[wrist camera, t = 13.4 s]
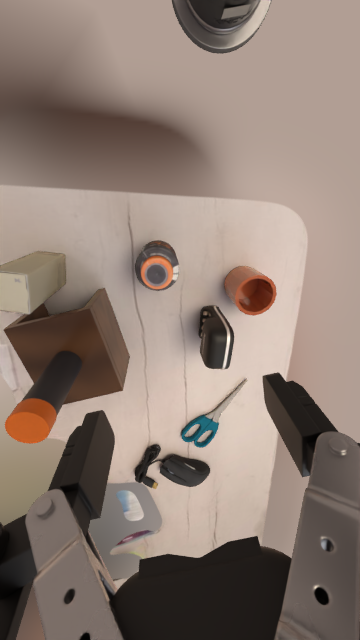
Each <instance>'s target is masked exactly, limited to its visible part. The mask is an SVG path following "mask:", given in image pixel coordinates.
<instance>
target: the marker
mask: <svg viewBox="0 0 360 640" xmlns="http://www.w3.org/2000/svg"><path fill="white" fill-rule="evenodd" d="M81 367H82V361H81V359H80V357H79V356H78V355H77V354H75V353H73V352H71V351H61V352H59V353H57V354H56V355H55V356H54V358H53V359H52V360H51V362H50V363H49V364H48V366H47V367H46V369H45V370H44V371H43V373H42V374H41V375H40V377H39V378H38V379H37V381H36V382H35V383H34V385H33V386H32V388H31V389H30V390H29V392H28V393H27V394H26V396H25V397H24V398H23V400H22V401H21V402H20V403H19V404H18V405H17V406H16V408H15V409H14V410H13V412H12V413H11V415H10V416H9V417H8V418H7V420H6V422H5V428H6V431H7V433H8V434H9V435H10V436H11V437H12V438H14V439H15V440H17V441H20V442H23V443H38V442H40V441H42V440H44V439H45V438H46V437H47V436H48V435H49V433H50V431H51V429H52V427H53V425H54V423H55V421H56V418H57V415H58V413H59V411H60V409H61V407H62V405H63V403H64V401H65V399H66V397H67V395H68V393H69V391H70V389H71V387H72V385H73V383H74V381H75V379H76V377H77V375H78V373H79V371H80V369H81Z"/></svg>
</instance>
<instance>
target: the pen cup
mask: <svg viewBox="0 0 360 640" xmlns="http://www.w3.org/2000/svg"><path fill="white" fill-rule="evenodd" d="M224 287H225V291H226V293H227V295H228V296H229V298H230V299H231V300H232V301H233V302H234V304H235V305H236V306H237V307H238V309H239V310H240V311H242V312H243V313H245V314H248V315H257V314H262V313H263V312H265V311H266V310H268V309H269V308H270V307H271V305H272V304H273V303H274V301H275V297H276V286H275V285H274V283H273V281H272V280H271V279H269V278H268V277H266V276H265V275H263V274H261V273H260V272H258V271H256V270H255V269H253V268H251V267H248V266H240V267H237V268H235V269H233V270H232V271H231V272H230V273H229V274H228V275H227V277H226V279H225V284H224Z"/></svg>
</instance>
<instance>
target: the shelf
mask: <svg viewBox="0 0 360 640" xmlns="http://www.w3.org/2000/svg"><path fill="white" fill-rule="evenodd" d="M4 332H5V333H6V335H7V337H8V339H9V340H10V342H11V344H12V345H13V347H14V349H15V351H16V352H17V354H18V356H19V358H20V359H21V361H22V363H23V365H24V366H25V368H26V370H27V372H28V373H29V375H30V377H31V379H32V380H33V382H34V383H35V382H36V381H37V379H38V378H39V377H40V375H41V374H42V373H43V371H44V370H45V369H46V367H47V366H48V364H49V363H50V362H51V360H52V359H53V358H54V356H55V355H56V354H57V353H59V352H61V351H71V352H73V353H75V354H77V355H78V356H79V357H80V359H81V361H82V367H81V369H80V371H79V373H78V375H77V377H76V379H75V381H74V383H73V385H72V387H71V389H70V391H69V393H68V395H67V397H66V399H65V401H64V403H63V405H64V404H68V403H72V402H76V401H81V400H85V399H89V398H94V397H98V396H102V395H106V394H111V393H115V392H119V391H123V387H124V382H125V377H126V373H127V368H128V363H129V358H130V356H129V353H128V350H127V348H126V345H125V342H124V339H123V337H122V334H121V331H120V328H119V325H118V323H117V320H116V317H115V314H114V312H113V309H112V306H111V303H110V301H109V298H108V295H107V292H106V290H105V288H103V289H99V290H98V291H97V292H96V293H95V294H94V296H93V297H92V298H91V299H90V301H89V302H88V303H87V304H86V306H85V307H84V308H80V309H76V310H72V311H68V312H64V313H60V314H56V315H52V316H49V314H48V311H47V309H46V307H45V305H44V303H42V304H41V305H40V306H39V307H37V308H36V309H35V310H34V311H33V312H32V313H31V314H24V315H22V316H21V317H20V318H18V319H17V320H16V321H14V322H13V323H12V324H10V325H9V326H8V327H6V328H5V329H4Z"/></svg>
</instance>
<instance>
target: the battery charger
mask: <svg viewBox="0 0 360 640" xmlns="http://www.w3.org/2000/svg"><path fill="white" fill-rule="evenodd" d="M199 337H200V338H201V346H200V354H201V357H202V359H203V362H204V364H205V366H206V367H208V368H211V369H227V368H228V367H229V365H230V361H231V355H232V349H233V343H234V332H233V329H232V327H231V326H230V324H229V322H228V321H227V319H226V318H225V316H224V315H223V314H222V312H221V311H220V309H219V307H217V306H207V307H204V308H203V309H202V311H201V317H200V326H199Z"/></svg>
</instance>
